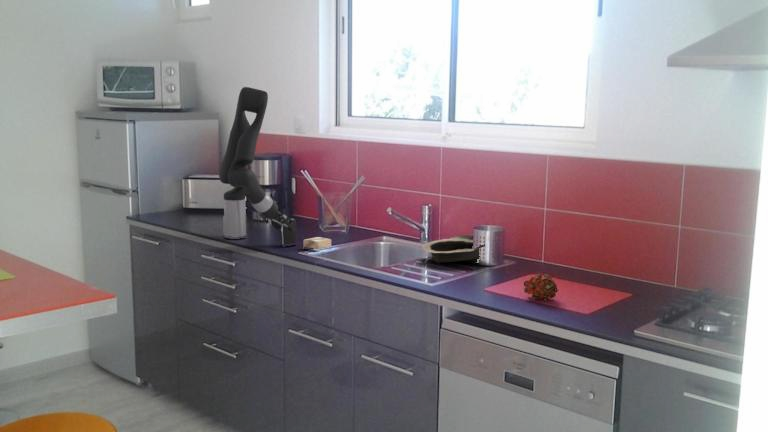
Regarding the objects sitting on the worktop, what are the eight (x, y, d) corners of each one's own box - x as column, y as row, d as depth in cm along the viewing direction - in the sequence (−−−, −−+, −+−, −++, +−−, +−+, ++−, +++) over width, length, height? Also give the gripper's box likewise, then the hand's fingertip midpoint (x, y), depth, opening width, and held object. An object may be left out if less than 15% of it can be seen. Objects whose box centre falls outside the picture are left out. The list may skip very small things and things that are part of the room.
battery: (291, 244, 303) (291, 217, 301) (297, 245, 300) (296, 218, 299) (278, 246, 298) (277, 219, 296) (283, 247, 295) (283, 220, 294)
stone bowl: (500, 260, 274) (500, 237, 272) (464, 277, 255) (463, 252, 253) (446, 250, 289) (446, 228, 287) (408, 265, 270) (408, 242, 268)
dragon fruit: (555, 309, 215) (524, 306, 225) (568, 289, 219) (538, 286, 229) (542, 289, 212) (512, 286, 221) (556, 269, 216) (526, 267, 225)
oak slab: (303, 249, 292) (303, 239, 292) (316, 246, 299) (316, 236, 298) (318, 251, 288) (318, 241, 287) (331, 248, 294) (331, 238, 293)
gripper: (281, 198, 284) (302, 223, 294) (256, 196, 292) (277, 220, 303) (272, 213, 280) (293, 238, 291) (247, 210, 289) (268, 234, 300)
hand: (285, 229), depth 297 cm, fingers open, 8 cm apart
